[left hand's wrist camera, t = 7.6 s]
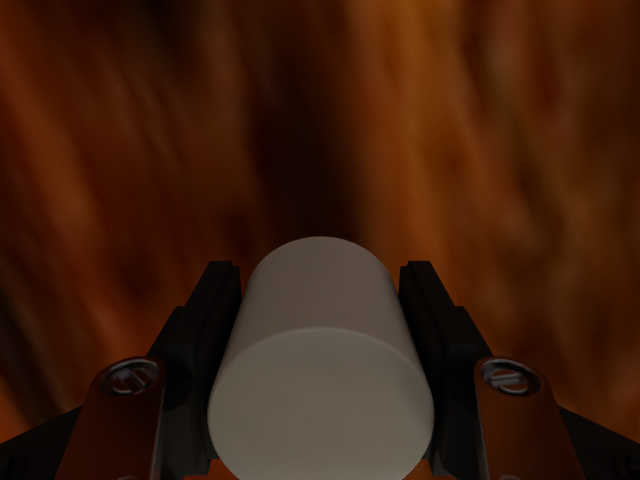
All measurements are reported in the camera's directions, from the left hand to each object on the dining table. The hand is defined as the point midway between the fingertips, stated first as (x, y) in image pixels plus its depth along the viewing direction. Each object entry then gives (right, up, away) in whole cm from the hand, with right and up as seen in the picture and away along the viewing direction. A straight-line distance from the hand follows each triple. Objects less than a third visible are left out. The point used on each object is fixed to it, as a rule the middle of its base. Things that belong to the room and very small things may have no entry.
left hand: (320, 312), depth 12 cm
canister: (0, 0, 0) cm, 0 cm away
